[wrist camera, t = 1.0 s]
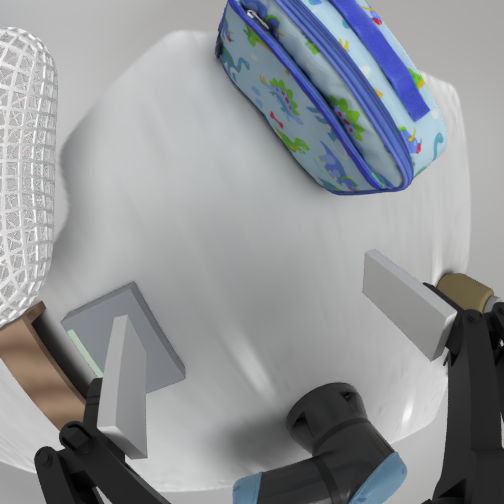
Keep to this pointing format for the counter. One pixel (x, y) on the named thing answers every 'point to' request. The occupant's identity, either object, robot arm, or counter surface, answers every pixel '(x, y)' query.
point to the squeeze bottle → (467, 292)
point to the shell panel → (150, 334)
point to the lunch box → (334, 90)
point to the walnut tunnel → (39, 370)
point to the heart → (47, 193)
